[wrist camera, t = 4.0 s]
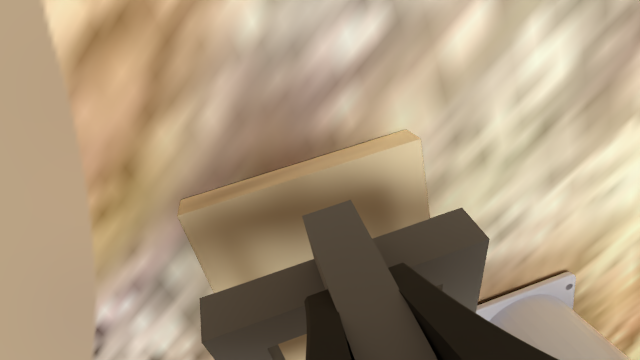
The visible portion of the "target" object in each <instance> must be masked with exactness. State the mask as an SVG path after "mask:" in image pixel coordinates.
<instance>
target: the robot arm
mask: <svg viewBox="0 0 640 360" xmlns="http://www.w3.org/2000/svg"><path fill="white" fill-rule="evenodd" d="M388 269H389V271H390V273H391V275H392V276H393V278H394V280H395V282H396V284H397V286H398V287H399V289H400V290H399V292H400V293H401V295H402V296H403V298H404V299H405V301H406V302H407V304H408V306H409V308H410V309H411V311H412V313H413V315H414V317H415V319H416V320H417V322H418V324H419V326H420V328H421V330H422V332H423V333H424V335H425V337H426V339H427V341H428V343H429V344H430V346H431V348H432V350H433V352H434V354H435V355H436V357H437V359H438V360H631V359H630V358H629V357H627V356H626V355H625V354H624V353H623V352H622V351H620V350H619V349H618V348H617V347H616V346H614V345H613V344H612V343H611V342H610V341H609V340H607V339H606V338H605V337H604V336H603V335H602V334H600V333H599V332H598V331H597V330H596V329H595V328H593V327H592V326H591V325H590V324H589V323H587V322H586V321H585V320H584V319H583V318H582V317H580V316H579V315H578V314H577V313H576V312H575V311H573V302H574V292H575V282H576V276H575V275H574V274H572V273H571V272H565V273H562V274H560V275H557V276H554V277H552V278H549V279H546V280H544V281H541V282H538V283H536V284H533V285H530V286H528V287H525V288H522V289H520V290H517V291H514V292H512V293H509V294H506V295H504V296H501V297H499V298H496V299H493V300H491V301H488V302H485V303H483V304H480V305H477V309H476V313H475V312H473V311H472V310H470V309H469V308H467V307H466V306H464V305H463V304H461V303H460V302H458V301H457V300H455V299H454V298H452V297H451V296H449V295H448V294H446V293H445V292H443V291H442V290H441V289H439V288H438V287H436V286H435V285H434V284H432V283H431V282H430V281H428V280H427V279H425V278H424V277H423V276H421V275H420V274H419V273H417V272H416V271H415V270H414V269H412V268H411V267H410V266H408V265H407V264H405V263H400V264H397V265H394V266H392V267H389V268H388ZM304 304H305V310H306V324H307V342H306V360H352V357H351V354H350V350H349V347H348V343H347V340H346V336H345V333H344V329H343V326H342V322H341V318H340V314H339V312H337V310H336V308H335V305H334V303H333V300H332V298H331V296H330V293H329V291H328V289H327V290H324V291H321V292H318V293H316V294H313V295H310V296H307V298H306V299H305V301H304Z"/></svg>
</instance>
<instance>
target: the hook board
mask: <svg viewBox="0 0 640 360" xmlns="http://www.w3.org/2000/svg"><path fill="white" fill-rule="evenodd" d="M348 200H351V201H352V203H353V205H354V206H355V208H356V210H357V212H358V214H359V216H360V218H361V219H362V221H363V223H364V225H365V227H366V229H367V230H368V232H369V234H370V236H371V238H372V239H373V238H376V237H378V236H381V235H384V234H387V233H390V232H393V231H396V230H399V229H402V228H404V227H407V226H410V225H413V224H416V223H419V222H422V221H425V220H428V219H430V214H429V205H428V197H427V188H426V180H425V172H424V163H423V155H422V146H421V139H420V138H419V137H417V136H416V135H414V134H412V133H411V132H409V131H408V130H403V131H400V132H396V133H393V134H390V135H387V136H384V137H380V138H377V139H374V140H371V141H368V142H364V143H361V144H358V145H355V146H352V147H348V148H345V149H342V150H339V151H336V152H332V153H329V154H326V155H323V156H320V157H316V158H313V159H310V160H307V161H304V162H301V163H297V164H294V165H291V166H288V167H285V168H281V169H278V170H275V171H272V172H269V173H265V174H262V175H259V176H256V177H253V178H249V179H246V180H243V181H240V182H237V183H233V184H230V185H227V186H224V187H221V188H217V189H214V190H211V191H208V192H205V193H201V194H198V195H195V196H192V197H189V198H186V199H182V200H181V201H180V206H179V210H178V215H177V217H178V219H179V221H180V223H181V225H182V227H183V229H184V231H185V233H186V235H187V238H188V240H189V242H190V244H191V246H192V248H193V250H194V252H195V254H196V256H197V259H198V261H199V263H200V265H201V267H202V269H203V271H204V273H205V275H206V277H207V279H208V282H209V284H210V286H211V288H212V290H213V292H214V293H217V292H220V291H223V290H225V289H228V288H231V287H234V286H237V285H240V284H243V283H246V282H248V281H251V280H254V279H257V278H260V277H263V276H266V275H269V274H272V273H274V272H277V271H280V270H283V269H286V268H289V267H292V266H295V265H298V264H300V263H303V262H306V261H309V260H312V259H314V256H313V253H312V249H311V246H310V242H309V239H308V235H307V232H306V228H305V225H304V221H303V218H302V216H303V215H306V214H309V213H312V212H315V211H318V210H321V209H324V208H327V207H330V206H333V205H336V204H339V203H342V202H345V201H348ZM306 342H307V334H305V335H302V336H299V337H297V338H294V339H291V340H288V341H286V342H283V343H280V344H278V346H279V348H280V350H281V352H282V354H283V356H284V358H285V360H306Z"/></svg>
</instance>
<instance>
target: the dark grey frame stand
mask: <svg viewBox="0 0 640 360" xmlns="http://www.w3.org/2000/svg"><path fill="white" fill-rule="evenodd" d="M302 218H303V221H304V225H305V228H306V232H307V235H308V239H309V242H310V246H311V249H312V253H313V256H314V259H312V260H309V261H306V262H303V263H300V264H298V265H295V266H292V267H289V268H286V269H283V270H280V271H277V272H274V273H272V274H269V275H266V276H263V277H260V278H257V279H254V280H251V281H248V282H246V283H243V284H240V285H237V286H234V287H231V288H228V289H225V290H223V291H220V292H217V293H214V294H211V295H208V296H205V297H202V298H200V314H201V336H202V343H203V345H204V346H205V347H206V349H207V350H208V351H209V352H210V354H211V355H212V356H213V358H214V359H215V360H285V358H284V356H283V354H282V352H281V350H280V348H279V346H278V344H280V343H283V342H286V341H288V340H291V339H294V338H297V337H299V336H302V335H305V334H307V324H306V310H305V304H304V301H305V299H306V298H307V296H310V295H313V294H316V293H318V292H321V291H324V290H327V289H328V291H329V293H330V296H331V298H332V300H333V303H334V305H335V308H336V310H337V312H339V314H340V318H341V322H342V326H343V329H344V333H345V336H346V340H347V343H348V347H349V350H350V354H351V357H352V360H438V359H437V357H436V355H435V354H434V352H433V350H432V348H431V346H430V344H429V343H428V341H427V339H426V337H425V335H424V333H423V332H422V330H421V328H420V326H419V324H418V322H417V320H416V319H415V317H414V315H413V313H412V311H411V309H410V308H409V306H408V304H407V302H406V301H405V299H404V298H403V296H402V295H401V293H400V292H399V290H400V289H399V287H398V286H397V284H396V282H395V280H394V278H393V276H392V275H391V273H390V271H389V269H388V268H389V267H392V266H394V265H397V264H400V263H405V264H407V265H408V266H410V267H411V268H412V269H414V270H415V271H416V272H417V273H419V274H420V275H421V276H423V277H424V278H425V279H427V280H428V281H430V282H431V283H432V284H434V285H435V286H436V287H438V288H439V289H441V290H442V291H443V292H445V293H446V294H448V295H449V296H451V297H452V298H454V299H455V300H457V301H458V302H460V303H461V304H463V305H464V306H466V307H467V308H469V309H470V310H472V311H473V312H475V313H476V309H477V304H478V298H479V293H480V287H481V282H482V277H483V271H484V266H485V260H486V255H487V249H488V244H489V238H488V237H487V236H486V235H485V233H484V232H483V231H482V230H481V229H480V228H479V227H478V225H477V224H476V223H475V222H474V221H473V220H472V219H471V217H470V216H469V215H468V214H467V213H466V212H465V211H464V210H463V208H459V209H456V210H454V211H451V212H448V213H445V214H442V215H439V216H436V217H433V218H430V219H428V220H425V221H422V222H419V223H416V224H413V225H410V226H407V227H404V228H402V229H399V230H396V231H393V232H390V233H387V234H384V235H381V236H378V237H376V238H373V239H372V238H371V236H370V234H369V232H368V230H367V229H366V227H365V225H364V223H363V221H362V219H361V218H360V216H359V214H358V212H357V210H356V208H355V206H354V205H353V203H352V201H351V200H348V201H345V202H342V203H339V204H336V205H333V206H330V207H327V208H324V209H321V210H318V211H315V212H312V213H309V214H306V215H303V216H302Z"/></svg>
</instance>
